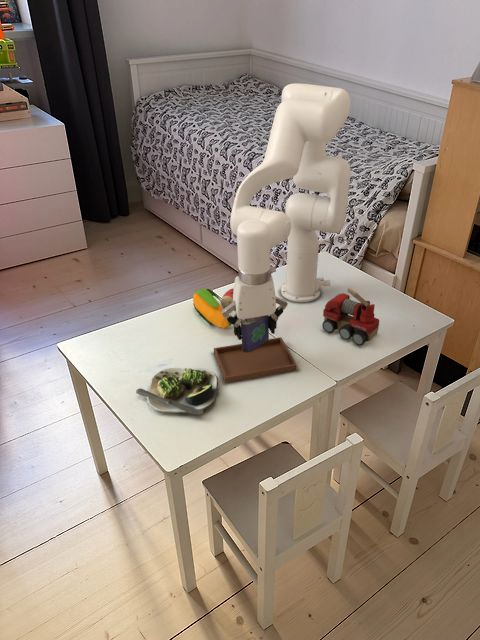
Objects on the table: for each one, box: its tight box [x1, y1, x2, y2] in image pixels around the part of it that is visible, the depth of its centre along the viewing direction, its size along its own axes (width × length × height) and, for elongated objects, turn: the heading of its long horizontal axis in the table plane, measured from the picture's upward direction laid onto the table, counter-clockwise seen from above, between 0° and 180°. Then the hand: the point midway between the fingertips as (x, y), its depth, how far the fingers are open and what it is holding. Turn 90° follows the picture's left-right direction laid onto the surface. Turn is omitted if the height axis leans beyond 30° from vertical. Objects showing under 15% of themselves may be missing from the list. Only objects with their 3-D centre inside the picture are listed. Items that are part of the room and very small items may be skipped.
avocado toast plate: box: [135, 367, 219, 416], centre depth 131 cm, size 19×18×5 cm
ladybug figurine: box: [220, 287, 234, 309], centre depth 166 cm, size 7×10×4 cm
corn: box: [192, 288, 233, 330], centre depth 157 cm, size 7×8×20 cm
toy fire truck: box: [321, 287, 380, 347], centre depth 150 cm, size 11×16×18 cm
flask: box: [240, 315, 270, 353], centre depth 138 cm, size 9×3×11 cm, turn 138°
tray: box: [213, 336, 298, 384], centre depth 143 cm, size 19×13×2 cm
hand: (255, 333), depth 139 cm, fingers closed on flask, 8 cm apart
